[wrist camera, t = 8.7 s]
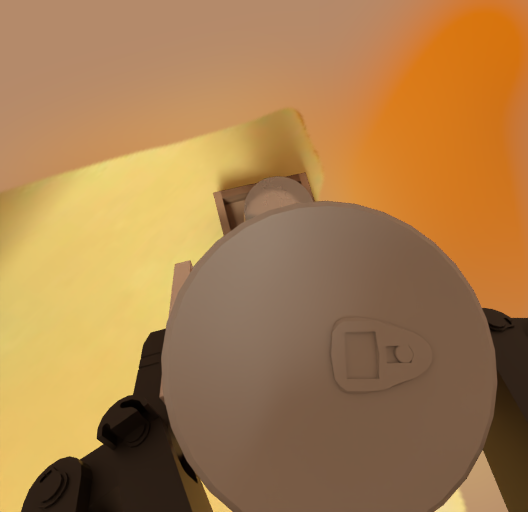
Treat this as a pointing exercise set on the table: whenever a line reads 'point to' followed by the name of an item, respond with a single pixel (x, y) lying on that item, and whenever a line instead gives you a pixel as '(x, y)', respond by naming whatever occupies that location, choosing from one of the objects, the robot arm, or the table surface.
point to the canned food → (328, 365)
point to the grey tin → (274, 196)
